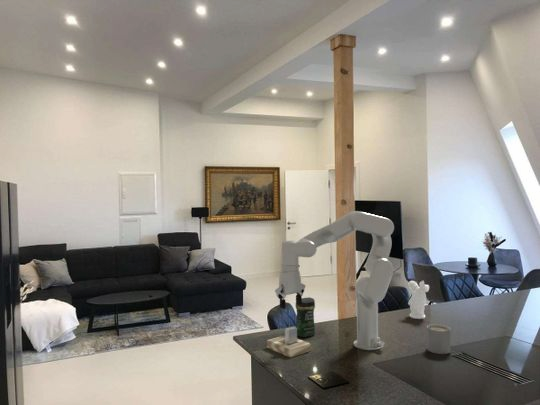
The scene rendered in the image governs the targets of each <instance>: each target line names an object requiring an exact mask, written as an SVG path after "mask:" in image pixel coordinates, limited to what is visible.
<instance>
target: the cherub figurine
mask: <svg viewBox="0 0 540 405" xmlns="http://www.w3.org/2000/svg"><path fill="white" fill-rule="evenodd" d="M407 287H408V289H409V290H410V291H411V292H410V293H411V297H410V298H409V301H408V303H407V305H409V307H410V314H409V317H410V318H411V319H418V320H422V319H423V320H424V319H426V314H425V307H426V306H425V305H426V304H427V303H428V298H427V294H426V293H428V292H429V290H430V285H429V284H425V281H424V280H421V281H420V282H419V283H417V281H415V280H410V281H408V283H407Z"/></svg>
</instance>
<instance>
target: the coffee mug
mask: <svg viewBox="0 0 540 405" xmlns="http://www.w3.org/2000/svg"><path fill="white" fill-rule="evenodd" d="M451 332H452V330H451V327H449V326H447V325H443V324H429V325H427V326H426V350H427V351H428V352H431V353H433V354H439V355H447V354H450V353H451V352H452V351H451V350H452V349H451V347H452V346H451V345H452V344H451V343H452V342H451V340H452V339H451V338H452V336H451Z"/></svg>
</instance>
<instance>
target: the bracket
mask: <svg viewBox="0 0 540 405" xmlns="http://www.w3.org/2000/svg"><path fill="white" fill-rule="evenodd" d="M284 335H285V345H288V346H289V345H292V344H296V343H297V339H298V336H297V328H296V326H290V327H287V328H284Z"/></svg>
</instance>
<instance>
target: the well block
mask: <svg viewBox="0 0 540 405" xmlns="http://www.w3.org/2000/svg"><path fill="white" fill-rule="evenodd" d="M267 349H270V350H271V351H273V352H276V353H279V354H281V355H283V356H286V357H288V358H294V357H296V356H297V357H298V356H301V355H303V354H306V352H307V353H310V352H311V343H310V342H308V341H305V340H302V339H299V338H297V343H296V344H292V345H289V346H288V345H285V334H284V335H281V336H277V337H274V338H271V339H267ZM309 351H310V352H309Z"/></svg>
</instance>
